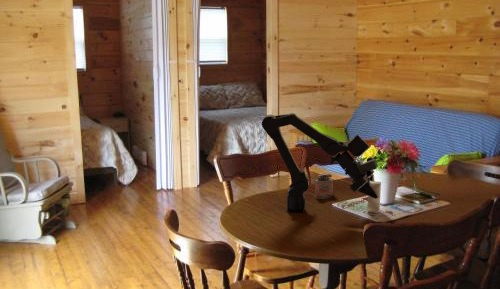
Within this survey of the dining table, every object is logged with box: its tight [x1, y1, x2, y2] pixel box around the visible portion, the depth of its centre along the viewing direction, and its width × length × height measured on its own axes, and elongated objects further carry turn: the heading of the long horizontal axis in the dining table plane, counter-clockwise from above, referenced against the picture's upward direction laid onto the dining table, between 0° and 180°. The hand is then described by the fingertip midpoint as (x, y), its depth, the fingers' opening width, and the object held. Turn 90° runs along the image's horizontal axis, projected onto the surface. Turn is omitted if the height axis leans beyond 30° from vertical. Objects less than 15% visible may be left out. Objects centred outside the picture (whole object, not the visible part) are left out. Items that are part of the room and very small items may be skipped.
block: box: [366, 180, 382, 213], centre depth 200 cm, size 4×4×11 cm
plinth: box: [363, 209, 383, 216], centre depth 201 cm, size 6×6×1 cm
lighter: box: [314, 173, 334, 200], centre depth 224 cm, size 8×3×10 cm, turn 105°
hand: (377, 196), depth 199 cm, fingers closed on block, 4 cm apart
